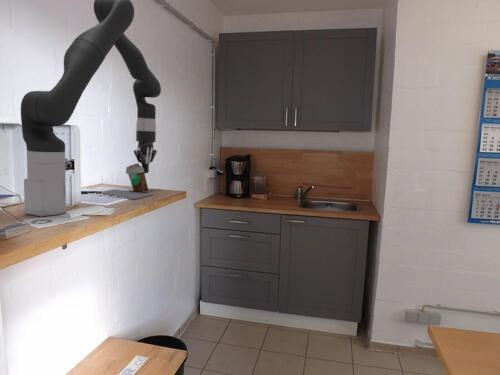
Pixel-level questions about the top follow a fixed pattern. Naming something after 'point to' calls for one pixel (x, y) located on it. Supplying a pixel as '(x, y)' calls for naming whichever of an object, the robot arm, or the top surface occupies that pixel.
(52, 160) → the robot arm
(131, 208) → the top surface
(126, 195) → the mat
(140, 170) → the food container
